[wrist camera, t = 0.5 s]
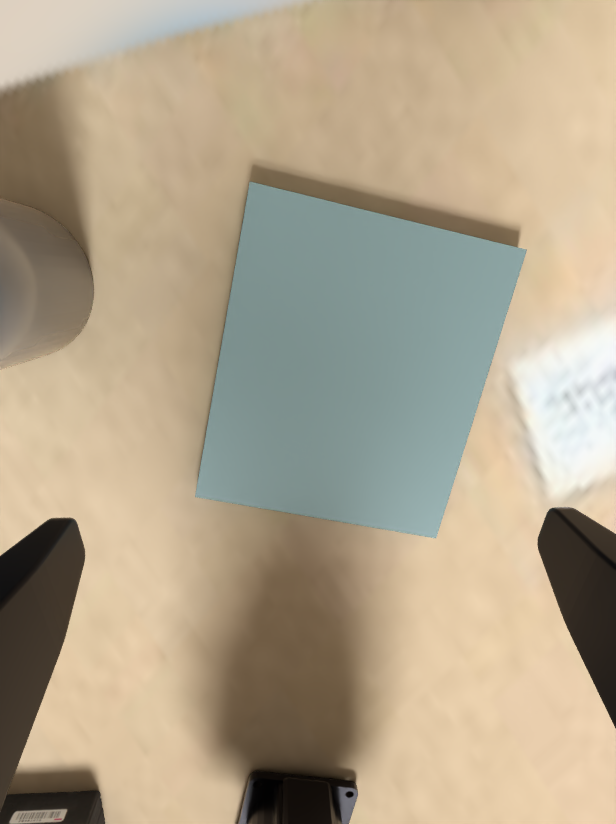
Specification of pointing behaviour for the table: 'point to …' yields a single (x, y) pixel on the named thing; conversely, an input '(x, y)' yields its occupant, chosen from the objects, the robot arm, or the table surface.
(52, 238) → the grey domed cylinder
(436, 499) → the slate board
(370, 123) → the table surface
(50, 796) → the disk drive
